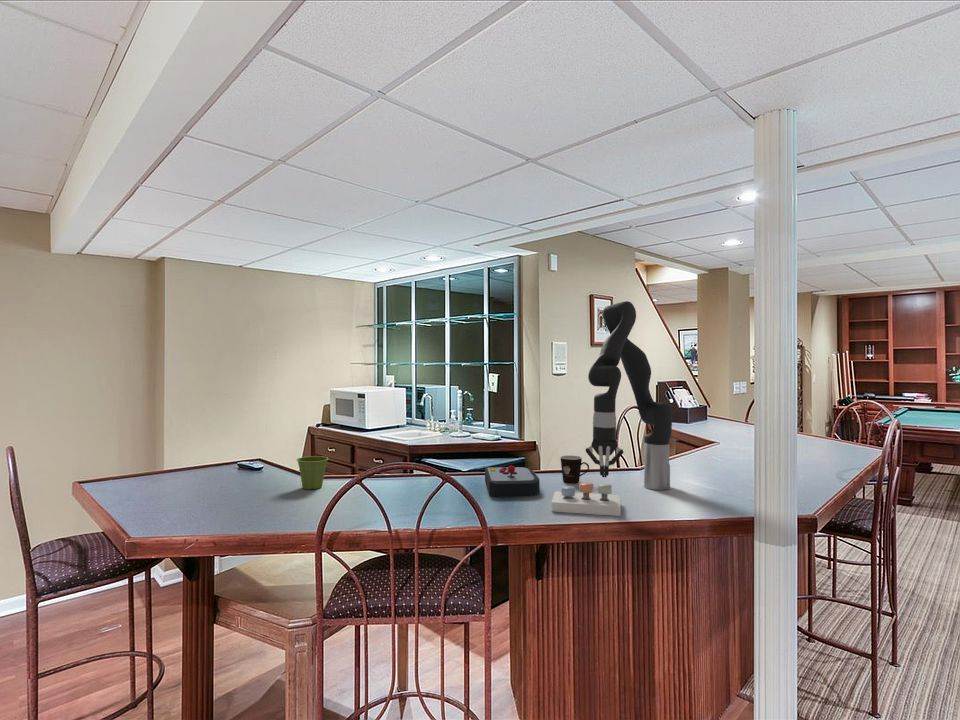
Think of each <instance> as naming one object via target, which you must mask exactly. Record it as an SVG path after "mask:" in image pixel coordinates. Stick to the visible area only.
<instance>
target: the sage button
mask: <svg viewBox="0 0 960 720" xmlns="http://www.w3.org/2000/svg"><path fill="white" fill-rule="evenodd" d="M596 486H597V490H596V491H597V494H601V501H608V495H612V484H609V483H598V484H597V485H596Z"/></svg>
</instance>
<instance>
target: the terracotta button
mask: <svg viewBox="0 0 960 720" xmlns="http://www.w3.org/2000/svg"><path fill="white" fill-rule="evenodd" d="M578 484H579V485H578V487H579V490H578V491H579V493H583V500H589V494H593V492H594V484H593V482H592V483H591V482H579V483H578Z"/></svg>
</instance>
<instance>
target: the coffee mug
mask: <svg viewBox="0 0 960 720" xmlns="http://www.w3.org/2000/svg"><path fill="white" fill-rule="evenodd" d="M559 459H560V464H561V465H560V467H561V474H562V476H561V477H562V482H563V483H564V484H567V485H575V484H576V485H577V484H579V483H580V478H581V477H582V476H583V475H585V474H587V473H588V471H589V470H590V465H589V464H588V463H587V462H585V461H582V460H583V457H582V456H578V455H571V454H570V455H561V456H560V458H559ZM582 465H586V466H587V469H586V470H585V471H584V472H583V473H581V469H582Z"/></svg>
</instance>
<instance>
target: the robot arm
mask: <svg viewBox="0 0 960 720" xmlns="http://www.w3.org/2000/svg"><path fill="white" fill-rule="evenodd" d="M602 317H603V318H602V319H603V321H604V323H605V326H606V329H607V330H608V332H609V333H608V334H609V336H607V337H606V339H605V340H604V341H603V344H602V345H601V349H600V352H599V356H598V357H597V359H596V360H595V361H594V363H592V365H591V367H590V369H589V371H588V377H587V378H588V381H589V383H590V385H592V386H594V387H605V388H606V387H607V388H608V389H607V391H606V392H603V393H597V394H595V395H594V397H593V416H592V442H591V444H590V446H588V447H585V452H586V454H587V455H588V457H589V458H590V459H591V461H592V462H593V463H594V464H595V465H598V466H599V475H600V476H601V478H607V477H608V476H609V475H610V474H609V472H610V471H609V469H610V468H609V467H610V466H613V465H615V464H616V462H617V461H618V460H619V459H620V458H621V457H622V455H623V454H624V449H622V448H620V447H619V446H618V443H617V415H616V400H617V399H616V398H617V394H618V389H619V386H620V384H621V380H622V372H621V370H620V369H621V368H619V367H618V365H619V364H620V361H621V363H622V366H623V368H624V371H625V374H626V376H627V378H628V381H629V384H630V387H631V389H632V392H633V395H634V398H635V402H636V406H637V410H638V414H639V417H640V419H641V421H642V422H643V423H644V424H646V425H650V426H653V428H652V432H651V433H648V434H645V435H644V439H643V440H644V441H643V442H644V443H643V449H644V450H643V453H644V455H643V457H644V458H643V463H644V466H643V468H644V471H643V472H644V473H643V477H644V478H643V484H644V485H643V486H644V487H645V489H650V490H655V491H664V490H670V489H671V463H670V440H671V436H672V427H673V411H672V408H671V406H670V405H669V404H668V403H666V402H661V401H654V399H653V398H652V395H651V390H650V381H651V378H652V369H651V365H650V363H649V360H648V357H647V355H646V353H645V352H644V351H643V350H642V349H641V348H639V347H640V346H638V345H636V344H635V343H634V342H632V341H631V340H630V339H629V335H630V334H631V332H632V329H633V327H634V325H635V323H636V319H637V311H636V308H635V306H634V304H633V303H632V302H630V301H629V300H627V301H626V300H625V301H621V302H617V303H613V304H611V305H607V306H605V307H603V310H602ZM593 452H595V453H596V454H597V455H598V456H599V457H598V458H597V456H595V454H594V453H593ZM614 452H615V455H614V456H613V457H612V458H611V460H610V456H612V455H613V453H614ZM604 456H605V458H604ZM604 459H605V460H604ZM644 487H643V488H644Z"/></svg>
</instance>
